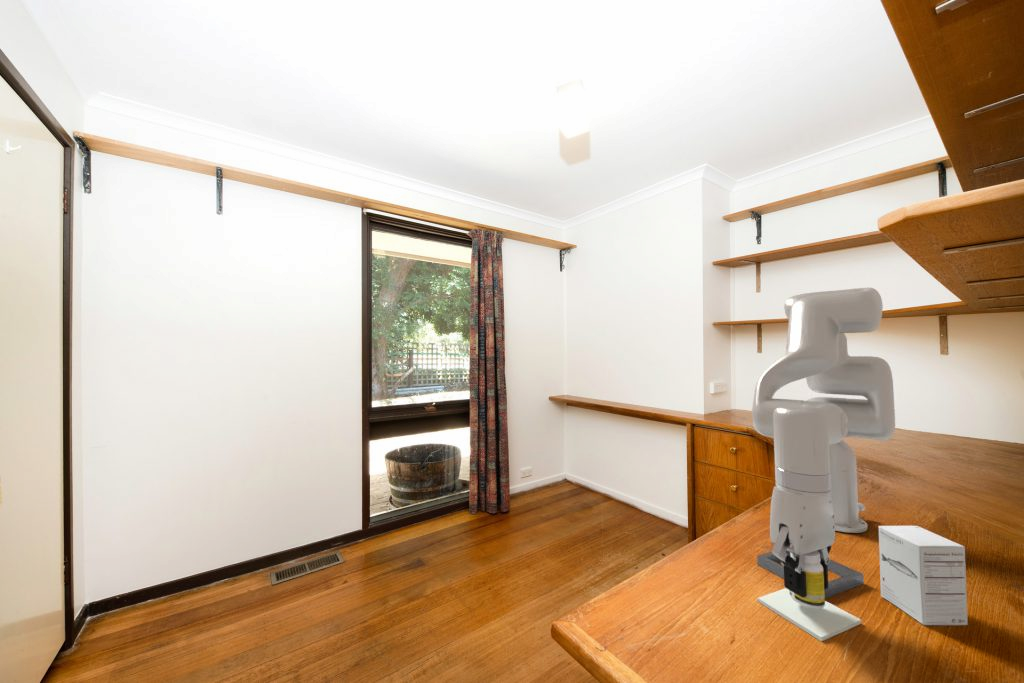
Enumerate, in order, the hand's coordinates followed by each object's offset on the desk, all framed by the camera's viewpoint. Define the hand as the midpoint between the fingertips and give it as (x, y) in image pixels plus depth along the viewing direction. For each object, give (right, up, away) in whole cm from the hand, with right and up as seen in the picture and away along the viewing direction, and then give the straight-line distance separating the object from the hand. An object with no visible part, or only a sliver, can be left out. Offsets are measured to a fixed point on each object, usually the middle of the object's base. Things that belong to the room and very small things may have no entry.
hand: (806, 587), depth 64 cm
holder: (+9, -4, +11) cm, 14 cm away
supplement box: (+19, -4, 0) cm, 20 cm away
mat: (0, -4, 0) cm, 4 cm away
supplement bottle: (0, -2, 0) cm, 2 cm away
